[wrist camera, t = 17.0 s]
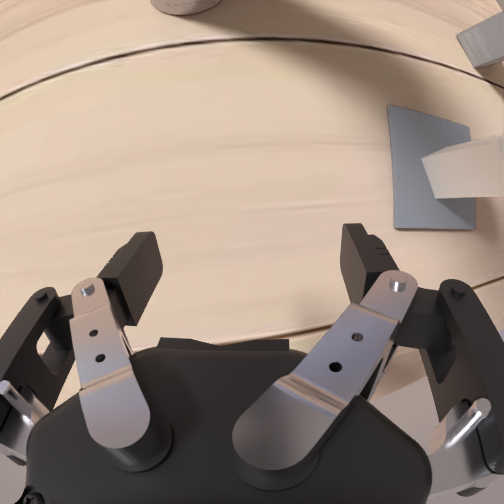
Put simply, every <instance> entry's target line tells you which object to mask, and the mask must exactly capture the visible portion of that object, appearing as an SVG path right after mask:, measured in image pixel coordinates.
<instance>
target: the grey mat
mask: <svg viewBox="0 0 504 504" xmlns="http://www.w3.org/2000/svg"><path fill="white" fill-rule="evenodd" d="M387 112H388V121H389V130H390V141H391V154H392V170H393V198H394V228H435V229H475V197H464V198H437V199H435V196H434V193H433V190H432V187H431V184H430V182H429V179H428V176H427V173H426V170H425V168H424V165H423V163H422V160H421V158H423V157H425V156H427V155H430V154H432V153H434V152H436V151H438V150H441V149H443V148H445V147H449V146H453V145H457V144H461V143H466V142H470V141H471V138H470V131H469V127H466V126H463V125H460V124H457V123H454V122H451V121H448V120H445V119H442V118H438V117H435V116H432V115H428V114H425V113H421V112H417V111H413V110H409V109H405V108H401V107H397V106H393V105H389V106H388V107H387Z"/></svg>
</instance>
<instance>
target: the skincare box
mask: <svg viewBox="0 0 504 504" xmlns="http://www.w3.org/2000/svg"><path fill="white" fill-rule="evenodd" d="M456 37H457V39H458V40H459V42H460V44H461V46H462V47H463V49H464V51H465V53H466V55H467V56H468V58H469V60H470V62H471V64H472V66H473V67H474V68H478V67H483V66H488V65H493V64H496V63H499V62H502V61H504V11H502V12H500V13H498V14H496V15H494V16H492V17H490V18H488V19H486V20H484V21H482V22H480V23H478V24H476V25H474V26H472V27H470V28H469V29H467V30H465V31H463V32H461V33H459V34H457V35H456Z"/></svg>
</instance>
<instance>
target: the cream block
mask: <svg viewBox="0 0 504 504" xmlns="http://www.w3.org/2000/svg"><path fill="white" fill-rule="evenodd" d="M421 160H422V163H423V165H424V168H425V170H426V173H427V176H428V179H429V182H430V184H431V187H432V190H433V193H434V196H435V199H437V198H464V197H504V134H502V135H497V136H492V137H488V138H483V139H479V140H474V141H470V142H466V143H461V144H457V145H453V146H449V147H445V148H443V149H441V150H438V151H436V152H434V153H432V154H430V155H427V156H425V157H423V158H421Z"/></svg>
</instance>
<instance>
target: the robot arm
mask: <svg viewBox="0 0 504 504" xmlns="http://www.w3.org/2000/svg"><path fill="white" fill-rule="evenodd" d="M150 1H151V3H152V5H153V6H154V7H155V8H156V9H158V10H160V11H161V12H164V13H167V14H174V15H187V14H194V13H198V12H202V11H205V10H207V9H210V8H211V7H213V6H215V5H216V4H218V3H219V2H220V1H221V0H150ZM340 267H341V272H342V276H343V279H344V282H345V285H346V289H347V292H348V295H349V299H350V302H351V304H350V305H349V306H348V307H347V308H346V310H345V311H344V312H343V313H342V315H341V316H340V317H339V318H338V319H337V321H336V322H335V323H334V324H333V326H332V327H331V328H330V329H329V330H328V332H327V333H326V334H325V335H324V336H323V338H322V339H321V340H320V341H319V342H318V343H317V345H316V346H315V347H314V348H313V349H312V350H311V351H310V353H309V354H307V353H304V352H301V351H297V350H293V349H289V339H275V340H252V341H247V342H242V343H236V344H231V345H225V346H217V345H213V344H209V343H205V342H201V341H197V340H193V339H183V338H163V337H161V338H160V340H159V343H158V345H157V347H152V348H148V349H145V350H142V351H139V352H137V353H135V354H134V353H133V351H132V348H131V346H130V343H129V341H128V338H127V336H126V334H125V331H124V329H123V328H124V326H125V325H127V326H137V324H138V322H139V320H140V318H141V316H142V314H143V312H144V309H145V307H146V305H147V303H148V301H149V299H150V297H151V295H152V293H153V291H154V289H155V288H156V286H157V284H158V282H159V280H160V278H161V276H162V272H163V264H162V260H161V256H160V252H159V248H158V244H157V240H156V236H155V234H154V232H152V231H151V232H137V233H135V235H134V236H133V237H132V238H131V239H130V241H129V242H128V243H127V244H125V245H124V246H123V247H121V248H120V249H118V250H117V252H116V253H115V254H114V255H113V258H111V259H110V260H109V263H107V264H106V266H105V267H104V268H103V270H102V271H101V272H100V273H99V275H98V276H97V277H95V278H88V279H85V280H83V281H81V282H80V283H78V284H77V285H76V286H75V287H74V288H73V290H72V292H71V295H67V296H62V297H59V296H58V294H57V292H56V290H55V289H54V288H52V287H46V288H43V289H40V290H39V291H37V292H36V293H34V294H33V295H32V296H31V297H30V299H29V300H28V301H27V303H26V304H25V305H24V307H23V308H22V309H21V311H20V312H19V313H18V315H17V316H16V317H15V319H14V320H13V322H12V323H11V324H10V326H9V327H8V329H7V330H6V332H5V333H4V335H3V336H2V338H1V339H0V453H1V454H3V455H6V456H7V457H8V458H10V459H11V460H12V461H14V462H15V463H16V464H18V465H22V466H24V465H27V473H26V484H25V489H24V492H23V494H22V496H21V498H20V499H19V500H18V501H17V502H16V503H14V504H426V501H429V500H433V499H437V498H440V497H443V496H447V495H450V494H453V493H457V494H459V495H460V496H464V497H468V496H472V495H474V494H476V493H478V492H479V491H481V490H483V489H485V488H486V487H488V486H490V485H491V484H493V483H495V482H496V481H498V480H499V479H501V478H502V477H504V342H503V340H502V339H501V336H500V335H499V333H498V331H497V329H496V327H495V326H494V324H493V322H492V320H491V318H490V317H489V315H488V313H487V312H486V310H485V308H484V307H483V305H482V303H481V302H480V300H479V298H478V297H477V295H476V294H475V292H474V291H473V289H472V288H471V287H470V286H469V285H468V284H466V283H464V282H462V281H460V280H455V279H448V280H445V281H443V282H442V283H441V285H440V288H439V291H437V290H430V289H424V288H420V287H418V284H417V281H416V280H415V278H414V277H413V276H411V275H410V274H408V273H406V272H403V271H400V270H399V269H398V267H397V265H396V263H395V262H394V260H393V258H392V256H391V255H390V253H389V251H388V250H387V249H386V246H385V245H384V243H383V241H382V240H381V239H379V238H378V237H376V236H375V235H368V234H367V232H366V230H365V229H364V227H363V225H362V224H361V223H351V224H343V228H342V241H341V254H340ZM43 332H45V334H46V336H47V337H48V339H49V340H50V344H49V345H48V347H47V349H46V351H45V353H44V354H43V356H42V358H40V356H39V355H38V353H37V349H36V346H37V342H38V340H39V338H40V336H41V335H42V333H43ZM398 346H404V347H411V348H417V349H419V351H420V354H421V357H422V360H423V363H424V367H425V370H426V373H427V377H428V380H429V384H430V387H431V391H432V394H433V398H434V402H435V406H436V410H437V414H438V418H439V422H440V423H439V424H438V426H437V427H436V428H435V430H434V431H433V433H432V435H431V440H430V445H431V446H430V447H431V448H430V453H429V455H428V456H427V454H426V452H425V451H424V450H423V448H422V447H421V446H420V445H419V444H418V443H417V442H416V441H415V440H413V439H412V438H411V437H410V436H409V435H407V434H406V433H405V432H404V431H403V430H401V429H400V428H399V427H398V426H397V425H395V424H394V423H393V422H392V421H390V420H389V419H388V418H387V417H386V416H385V415H383V414H382V413H381V412H380V411H379V410H377V409H376V408H375V407H374V406H373V405H372V404H370V403H369V401H370V399H371V397H372V395H373V393H374V391H375V389H376V387H377V385H378V383H379V382H380V380H381V378H382V376H383V374H384V373H385V371H386V369H387V367H388V365H389V364H390V362H391V360H392V358H393V356H394V354H395V352H396V350H397V349H398ZM75 359H76V365H77V370H78V375H79V379H80V384H81V389H80V390H79V392H78V393H77V394H75V395H74V396H72V397H71V398H69V399H68V400H67V401H65V402H64V403H62V404H61V405H59V406H58V407H56V408H55V409H54V410H53V408H54V406H55V403H56V401H57V399H58V396H59V394H60V392H61V389H62V387H63V385H64V383H65V380H66V378H67V376H68V374H69V372H70V370H71V368H72V365H73V363H74V361H75Z"/></svg>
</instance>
